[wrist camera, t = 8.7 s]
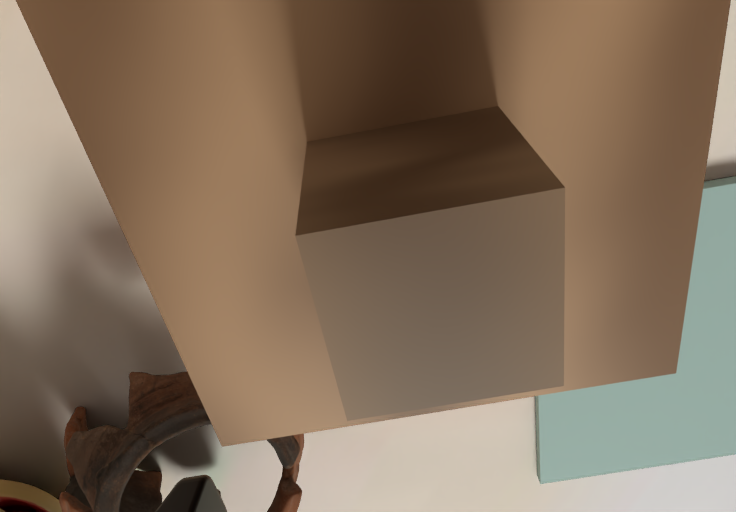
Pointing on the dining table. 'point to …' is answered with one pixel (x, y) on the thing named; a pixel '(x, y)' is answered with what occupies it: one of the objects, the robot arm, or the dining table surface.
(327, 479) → the dining table surface
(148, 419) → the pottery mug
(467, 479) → the dining table surface
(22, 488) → the yellow rounded lump
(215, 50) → the walnut lid
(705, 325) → the teal mat
